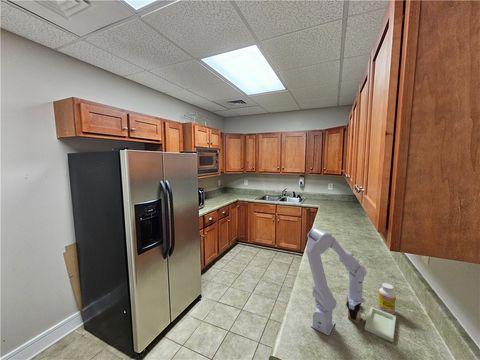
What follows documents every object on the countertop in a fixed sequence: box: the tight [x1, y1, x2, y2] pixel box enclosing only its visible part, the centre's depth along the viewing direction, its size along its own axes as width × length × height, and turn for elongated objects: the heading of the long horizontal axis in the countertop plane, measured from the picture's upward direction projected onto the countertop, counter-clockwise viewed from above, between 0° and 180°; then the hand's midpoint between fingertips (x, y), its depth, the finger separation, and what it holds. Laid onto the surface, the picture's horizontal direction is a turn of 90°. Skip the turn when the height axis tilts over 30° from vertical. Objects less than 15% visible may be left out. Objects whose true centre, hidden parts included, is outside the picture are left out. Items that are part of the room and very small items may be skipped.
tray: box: [364, 306, 397, 344], centre depth 92 cm, size 16×10×2 cm, turn 139°
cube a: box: [347, 308, 362, 324], centre depth 96 cm, size 4×4×4 cm
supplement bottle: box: [378, 282, 397, 315], centre depth 101 cm, size 7×7×13 cm
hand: (354, 315), depth 96 cm, fingers open, 5 cm apart
